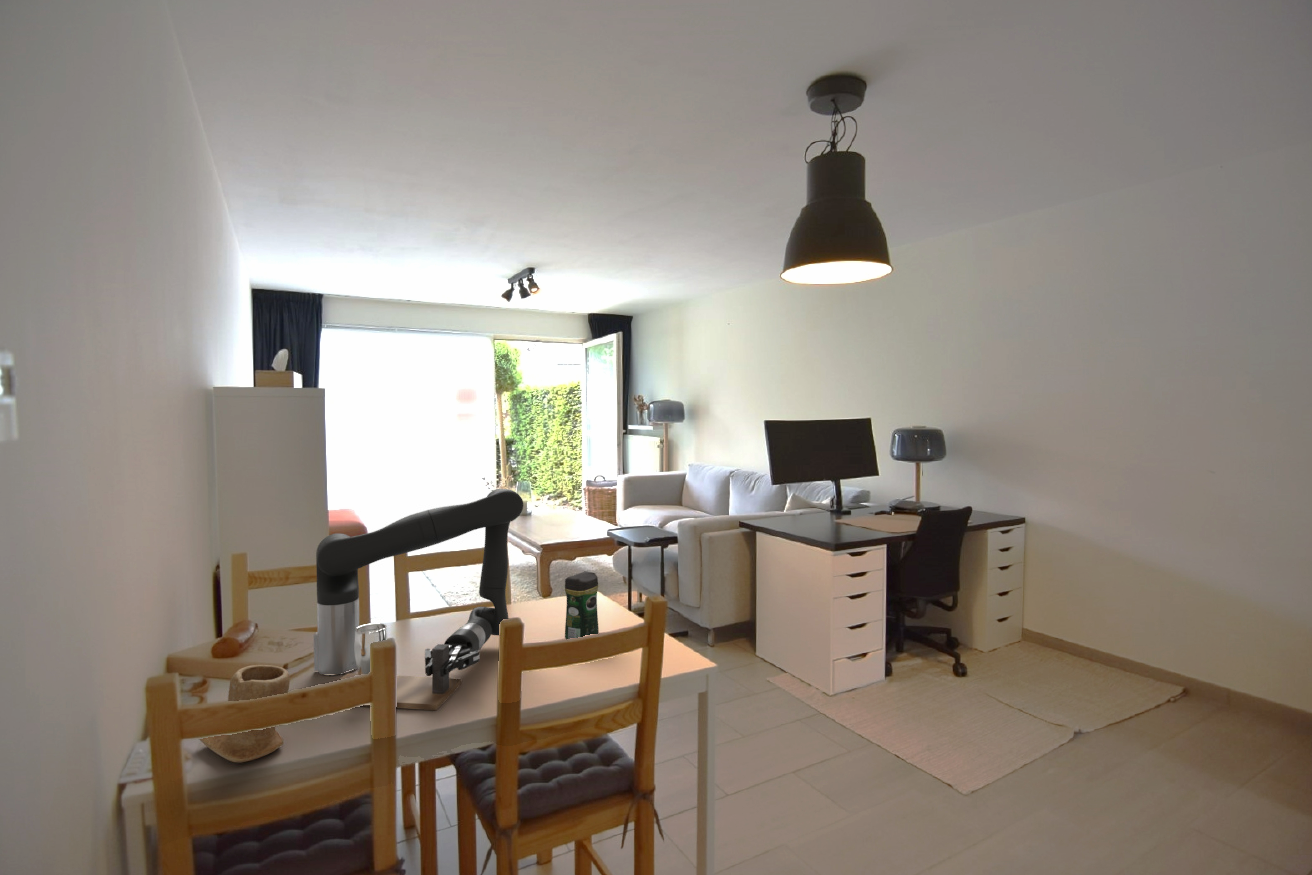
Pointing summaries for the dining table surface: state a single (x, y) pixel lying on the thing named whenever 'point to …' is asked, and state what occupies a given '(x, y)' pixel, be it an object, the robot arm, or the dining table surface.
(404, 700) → the board with upright block
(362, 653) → the beer glass
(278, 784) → the dining table surface
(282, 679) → the stone cup
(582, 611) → the coffee jar
